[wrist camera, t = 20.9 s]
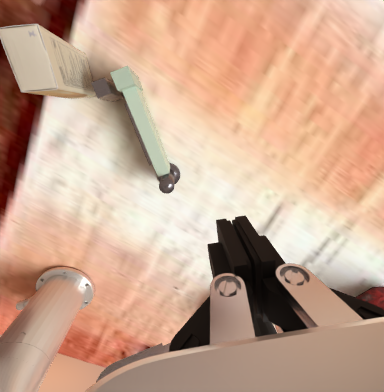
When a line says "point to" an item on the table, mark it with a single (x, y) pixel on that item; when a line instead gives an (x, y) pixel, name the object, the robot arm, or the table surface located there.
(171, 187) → the dark grey rounded knob
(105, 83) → the latch post
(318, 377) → the robot arm
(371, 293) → the lantern
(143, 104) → the gate
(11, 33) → the skincare box
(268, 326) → the drinking cup
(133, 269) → the table surface
